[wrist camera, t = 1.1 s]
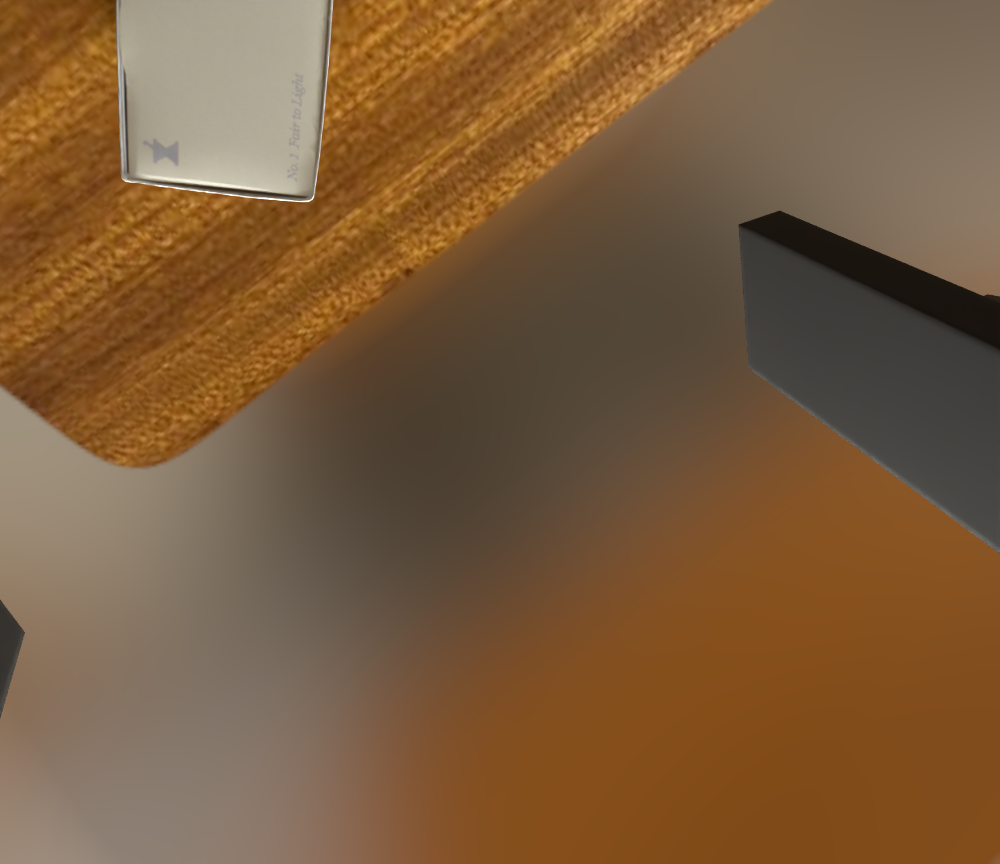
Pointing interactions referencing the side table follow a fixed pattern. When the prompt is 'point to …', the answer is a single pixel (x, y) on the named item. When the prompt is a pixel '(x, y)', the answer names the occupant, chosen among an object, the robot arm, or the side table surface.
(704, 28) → the side table surface
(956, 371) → the robot arm
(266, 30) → the cosmetic box
